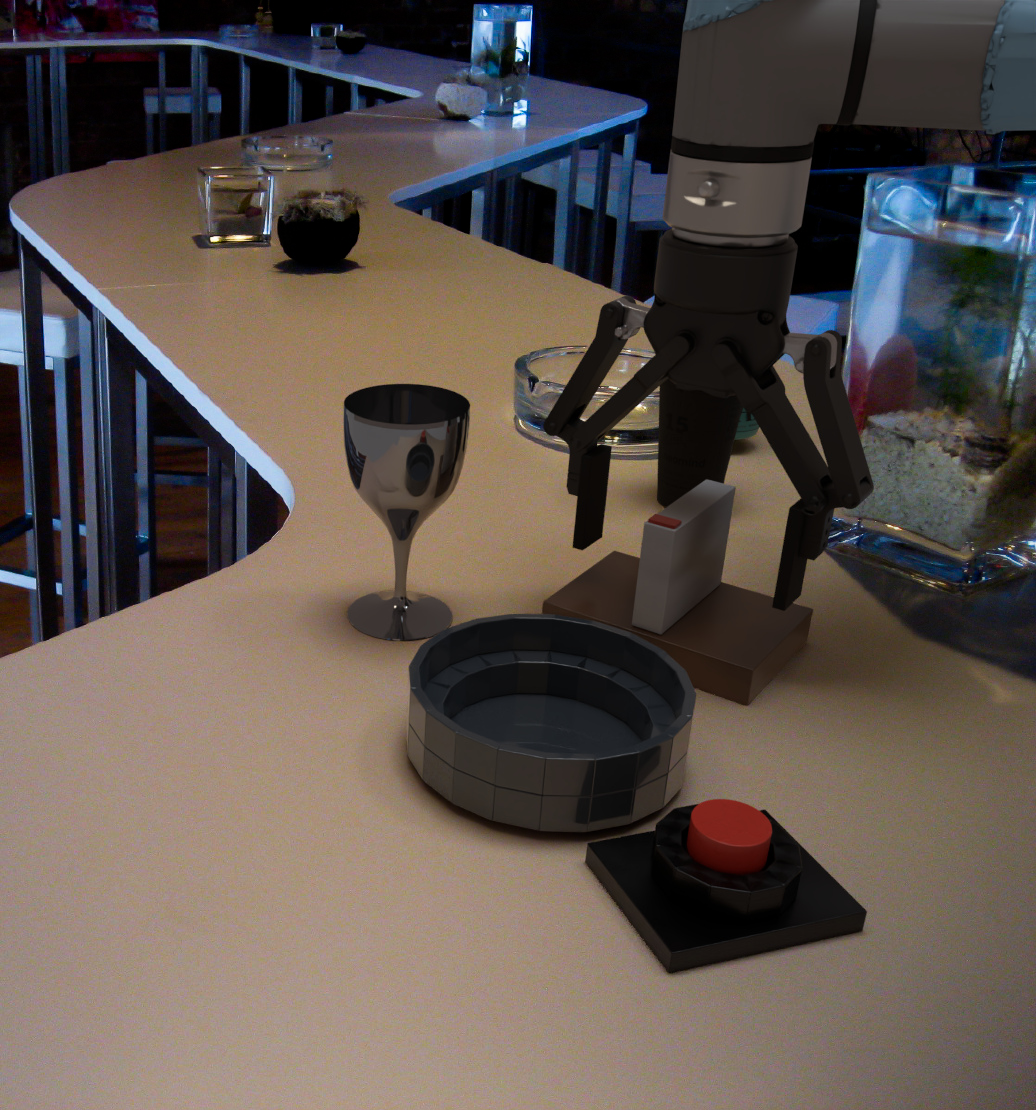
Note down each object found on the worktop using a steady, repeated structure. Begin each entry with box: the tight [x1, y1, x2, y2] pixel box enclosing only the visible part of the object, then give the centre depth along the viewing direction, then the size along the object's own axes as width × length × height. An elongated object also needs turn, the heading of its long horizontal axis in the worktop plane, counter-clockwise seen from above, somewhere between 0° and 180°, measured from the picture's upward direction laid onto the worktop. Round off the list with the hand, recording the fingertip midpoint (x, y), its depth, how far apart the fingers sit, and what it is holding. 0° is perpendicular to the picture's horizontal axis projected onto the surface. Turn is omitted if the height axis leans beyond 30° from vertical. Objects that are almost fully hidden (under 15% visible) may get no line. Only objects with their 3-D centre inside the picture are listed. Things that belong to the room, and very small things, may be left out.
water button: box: [687, 798, 772, 875], centre depth 60 cm, size 4×4×2 cm
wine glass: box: [342, 383, 471, 642], centre depth 84 cm, size 8×8×15 cm
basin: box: [405, 613, 697, 833], centre depth 71 cm, size 15×15×5 cm
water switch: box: [584, 803, 868, 975], centre depth 61 cm, size 10×8×3 cm
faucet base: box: [541, 550, 814, 707], centre depth 84 cm, size 14×10×2 cm
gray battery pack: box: [632, 479, 736, 634], centre depth 82 cm, size 9×2×7 cm, turn 140°
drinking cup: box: [656, 379, 743, 508], centre depth 101 cm, size 8×8×20 cm
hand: (682, 571), depth 82 cm, fingers open, 13 cm apart
